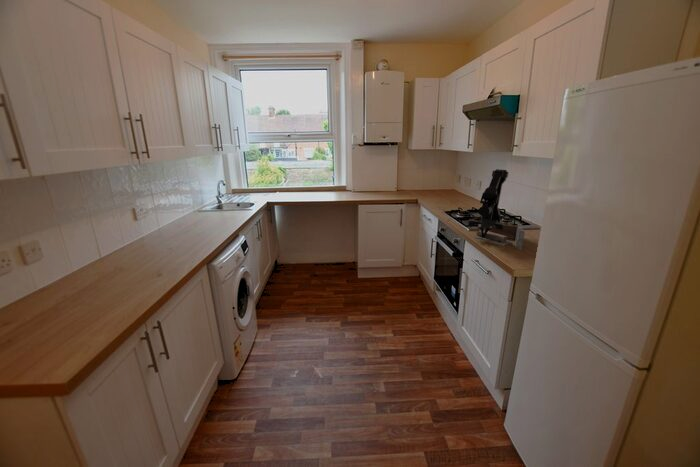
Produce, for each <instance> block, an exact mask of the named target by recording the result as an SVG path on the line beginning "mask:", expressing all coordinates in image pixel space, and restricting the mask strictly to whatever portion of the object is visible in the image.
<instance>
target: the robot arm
mask: <svg viewBox="0 0 700 467" xmlns="http://www.w3.org/2000/svg"><path fill="white" fill-rule="evenodd" d="M508 177H509V171H508V170H507V169H499V168H497V169H495V170H492V172H491V180H490V182H489V186H488V187H486V188H485V190H484V192H482V193H481V194H482V195H481V199H480V201H479V203H480V204H482V206H481V207H479V209H478V211H477V212H478V214H479V215H480V217H481V218H480V221H477V220H476V219H474V218H473V219H472V218H469V219H468V222H467V226H469V227H474V226H477V229H478V228H480V230H481V233H482V238H484V237H485V235H486V233H487V232H488V231H489V230H491V229H492V226H493V227H495V228H496V229H501V230H502V229H503V224H504V222H501V221H502V220H501V219H502V216H501V211H500V209H499V203H500V199H501V198H500V197H501V194H502V187H503V184H504V183H505V182H506V181H507V179H508ZM495 223H496V224H495ZM484 228H486V229H485V232H484Z"/></svg>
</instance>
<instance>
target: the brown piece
mask: <svg viewBox="0 0 700 467" xmlns="http://www.w3.org/2000/svg"><path fill="white" fill-rule="evenodd" d="M495 224H496V223H495ZM476 229H477V232H478V231H480V228H478V227H477V228H476ZM485 229H486V228H484V230H485ZM489 231H490V232H493V233H497V234H500V235H504V236H507V237H508V238H507V239H510V240H514V242H515V246H516V250H517V251H522V250H523V249H522V248H523V244H524V239H525V234H526V233H525V230H524V227H523V223H517V225H513V224H505V223H503V229H502V230H501V229H496V228H495V227H493V226H492V229H491V230H489ZM477 232H476V233H477Z"/></svg>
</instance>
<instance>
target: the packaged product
mask: <svg viewBox="0 0 700 467" xmlns="http://www.w3.org/2000/svg"><path fill="white" fill-rule="evenodd" d="M484 232H485V230H484ZM474 238H475V239H477V240H481V241H485V242H488V243H491V244H494V245H498V246H501V247H504V246H506V245H509V244H511V243H512V240H508V239H509V238H508V237H507V236H504V235H500V234H497V233H493V232H490V231H488V232H487V233H486V235H485V237H484V238H482V233H481V230H480V231H478V232H476V235H475V236H474Z"/></svg>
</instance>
